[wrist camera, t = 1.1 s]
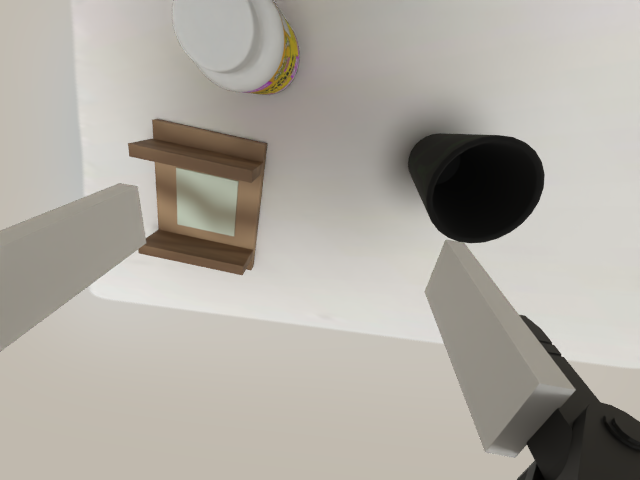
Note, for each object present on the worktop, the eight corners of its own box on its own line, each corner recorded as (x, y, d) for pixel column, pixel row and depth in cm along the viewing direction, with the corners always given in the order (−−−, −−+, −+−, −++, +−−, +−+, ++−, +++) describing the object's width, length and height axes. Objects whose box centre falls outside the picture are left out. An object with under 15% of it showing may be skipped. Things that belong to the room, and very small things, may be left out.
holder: (157, 119, 31) (126, 122, 26) (267, 143, 31) (254, 150, 27) (164, 247, 38) (140, 267, 33) (253, 266, 38) (241, 288, 34)
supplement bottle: (261, 108, 30) (208, 114, 18) (218, 44, 27) (127, 4, 16) (314, 66, 28) (293, 43, 16) (273, -6, 25) (214, -94, 14)
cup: (418, 208, 33) (454, 260, 22) (385, 151, 30) (407, 179, 20) (484, 170, 31) (560, 208, 20) (454, 106, 28) (522, 109, 17)
